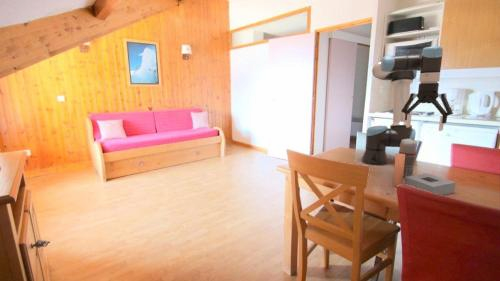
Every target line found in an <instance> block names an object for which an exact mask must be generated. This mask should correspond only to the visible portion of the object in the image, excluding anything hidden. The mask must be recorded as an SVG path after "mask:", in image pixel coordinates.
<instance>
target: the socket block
mask: <svg viewBox="0 0 500 281" xmlns="http://www.w3.org/2000/svg"><path fill="white" fill-rule="evenodd" d="M404 183H405V184H408V185H411V186H414V187H416V188H419V189H422V190H426V191H429V192H432V193H436V194H440V195H442V196H447V195H450V194H454V193H455V192H456V191H455V190H456V186H457V185H456V183H457V182H455V181H453V180H449V179H447V178H444V177H440V176H437V175H433V174H431V173H427V172H424V173H421V174H419V173H418V174H414V175H412V176H407V177H404Z"/></svg>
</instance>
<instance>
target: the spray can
mask: <svg viewBox="0 0 500 281" xmlns="http://www.w3.org/2000/svg"><path fill="white" fill-rule="evenodd" d="M417 148H418V142H417V140H411V139H404V140H401V144H400V147H399V150H398V153H401V154H405V162H404V173H403V178H405V177H407V176H412V175H413V174H414V168H415V163H416V157H417Z"/></svg>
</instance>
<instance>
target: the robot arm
mask: <svg viewBox="0 0 500 281" xmlns="http://www.w3.org/2000/svg"><path fill="white" fill-rule="evenodd" d="M443 52H444V48H443V46H439V45H436V46H426V47H424V48H423V49H422V52H421V54H420V53H419V54H417V53H416V54H406V55H387V56H386V55H385V56H383V57H381V60H380V62H378V63H376V64H375V65H374V66H373V67H372V71H371V72H372V75H373V77H374V78H377V79H378V80H381V81H391V84H392V85H393V111H392V112H393V113H392V114H393V115H392V116H393V117H392V118H393V119H392V123H391V125H390V128H389V127H388V126H387V125H375V126H374V125H373V126H370V127H368V128H367V129H366V134H365V138H366V139H365V150H364V152H363V155H362V157H361V162H362V161H363V162H362V163H364V162H365V163H364V164H367V165H373V166H385V165H387V164H388V161H389V159H388V157H387V152H386V148H400V144H401V140H404V139H411V140H414V141H416V140H415V139H416V129H415V128H412V127H413V126H412V124H411V122H412V113H411V112H413V111H414V110H415V108H416V107H418V106H419V105H420V104H432V105H433V106H434V107H435V108H436V109H437V110H438V112H439V113H440V114H441V115H440V117H439V125H438V132H441V131H443V130H444V124H446V123H447V120H448V116H451V115H453V114H454V112H453V109H452V108H451V107H452V106H450V103H449V102H448V99H447V93H445V92H444V93H439V86H440V83H439V82H440V79H441V78H440V77H441V76H440V75H441V68H442V61H443V56H444V53H443ZM418 72H420V74H419V84H418V89H417V93H415V92H412V93H411V92H410V91H411V84H412V83H413V82H414V80H416V78H417V74H418ZM415 98H417V100H416V101H415V102H414V103H413V101H414V100H415ZM438 98H439V99H441V102H442V105H443V107H442V105H441V103H439V101H438V100H437V99H438Z"/></svg>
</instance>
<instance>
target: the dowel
mask: <svg viewBox="0 0 500 281" xmlns="http://www.w3.org/2000/svg"><path fill="white" fill-rule="evenodd" d="M394 156H395V157H394V158H395V160H394V169H393V180H392V181H393V182H392V186H393V187H395V188H397V187H396V186H397V185H399V184H402V185H403V184H404V183H403V181H404V177H403V173H404V162H405V154H401V153H399V152H397V153H395V155H394Z"/></svg>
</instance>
